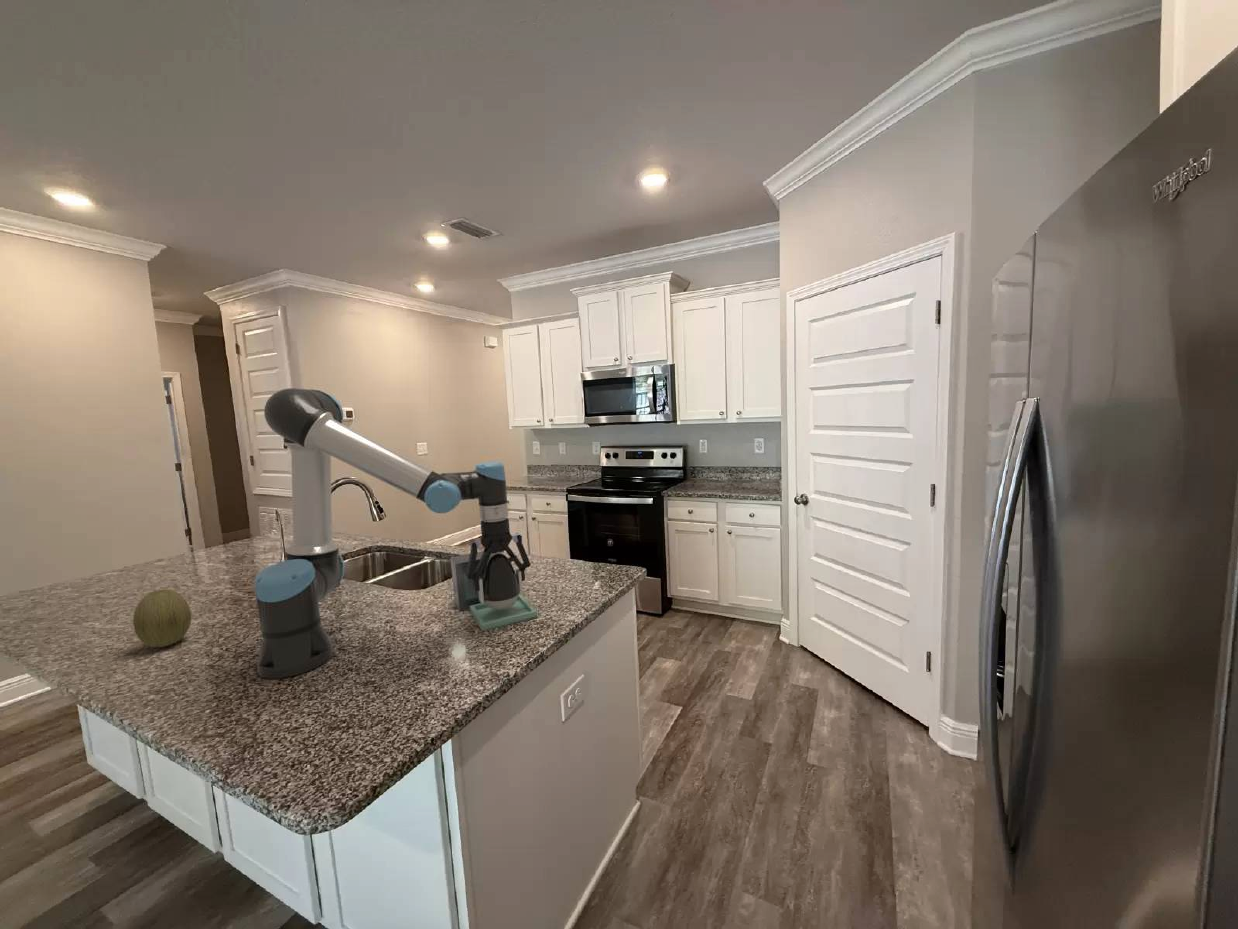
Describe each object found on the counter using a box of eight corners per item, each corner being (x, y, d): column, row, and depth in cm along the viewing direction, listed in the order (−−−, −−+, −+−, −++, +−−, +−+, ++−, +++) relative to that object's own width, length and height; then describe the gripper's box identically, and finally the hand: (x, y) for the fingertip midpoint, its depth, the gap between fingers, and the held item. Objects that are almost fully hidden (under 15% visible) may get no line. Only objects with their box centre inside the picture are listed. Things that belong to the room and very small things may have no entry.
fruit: (202, 639, 134) (193, 586, 132) (147, 659, 124) (137, 601, 122) (185, 631, 139) (176, 580, 138) (131, 649, 130) (121, 595, 128)
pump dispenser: (516, 613, 133) (512, 558, 132) (478, 614, 134) (473, 560, 132) (524, 598, 144) (520, 547, 142) (489, 600, 144) (484, 549, 142)
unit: (459, 611, 143) (455, 564, 141) (454, 601, 150) (450, 557, 149) (507, 600, 149) (504, 555, 147) (500, 591, 157) (496, 548, 155)
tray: (482, 631, 129) (481, 625, 129) (470, 612, 142) (469, 606, 142) (537, 617, 136) (536, 611, 136) (521, 599, 149) (520, 594, 149)
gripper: (453, 528, 127) (461, 611, 130) (538, 515, 137) (544, 592, 140) (449, 522, 134) (456, 601, 136) (530, 510, 144) (536, 584, 147)
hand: (501, 597), depth 138 cm, fingers closed on pump dispenser, 10 cm apart
